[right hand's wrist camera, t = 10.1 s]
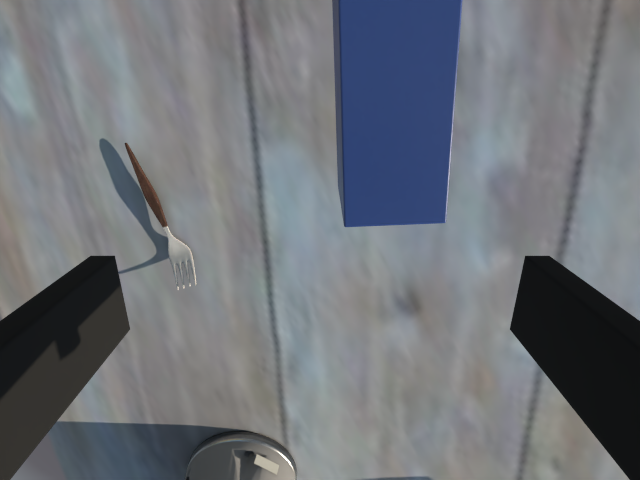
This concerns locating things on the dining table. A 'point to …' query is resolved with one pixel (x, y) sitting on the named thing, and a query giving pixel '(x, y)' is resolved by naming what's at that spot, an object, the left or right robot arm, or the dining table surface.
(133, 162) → the fork
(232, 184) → the dining table surface
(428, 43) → the bar
